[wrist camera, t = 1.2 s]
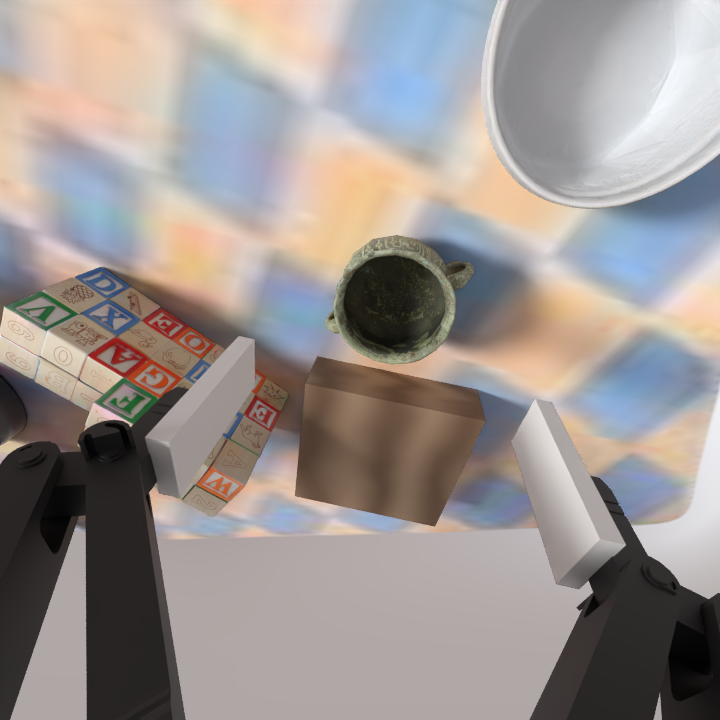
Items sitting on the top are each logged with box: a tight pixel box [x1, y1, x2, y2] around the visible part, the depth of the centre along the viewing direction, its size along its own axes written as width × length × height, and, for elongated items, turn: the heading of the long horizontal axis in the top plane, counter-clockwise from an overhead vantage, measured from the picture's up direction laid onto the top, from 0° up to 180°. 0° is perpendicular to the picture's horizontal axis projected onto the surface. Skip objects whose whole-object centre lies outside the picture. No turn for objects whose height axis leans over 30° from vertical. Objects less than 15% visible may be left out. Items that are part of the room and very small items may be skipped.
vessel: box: [325, 235, 474, 364], centre depth 27 cm, size 12×9×6 cm
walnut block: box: [295, 357, 486, 526], centre depth 37 cm, size 16×16×5 cm
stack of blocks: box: [0, 267, 289, 517], centre depth 31 cm, size 21×6×12 cm, turn 51°
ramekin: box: [481, 0, 720, 209], centre depth 18 cm, size 13×13×7 cm
